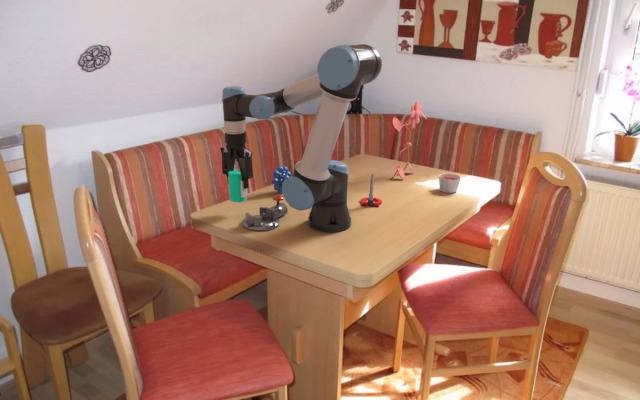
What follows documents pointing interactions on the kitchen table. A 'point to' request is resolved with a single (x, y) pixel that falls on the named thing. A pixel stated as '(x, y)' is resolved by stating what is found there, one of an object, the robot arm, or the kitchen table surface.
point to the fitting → (266, 217)
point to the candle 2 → (449, 182)
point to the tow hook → (371, 197)
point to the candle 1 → (235, 186)
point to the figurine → (415, 120)
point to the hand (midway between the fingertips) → (238, 195)
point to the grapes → (280, 177)
